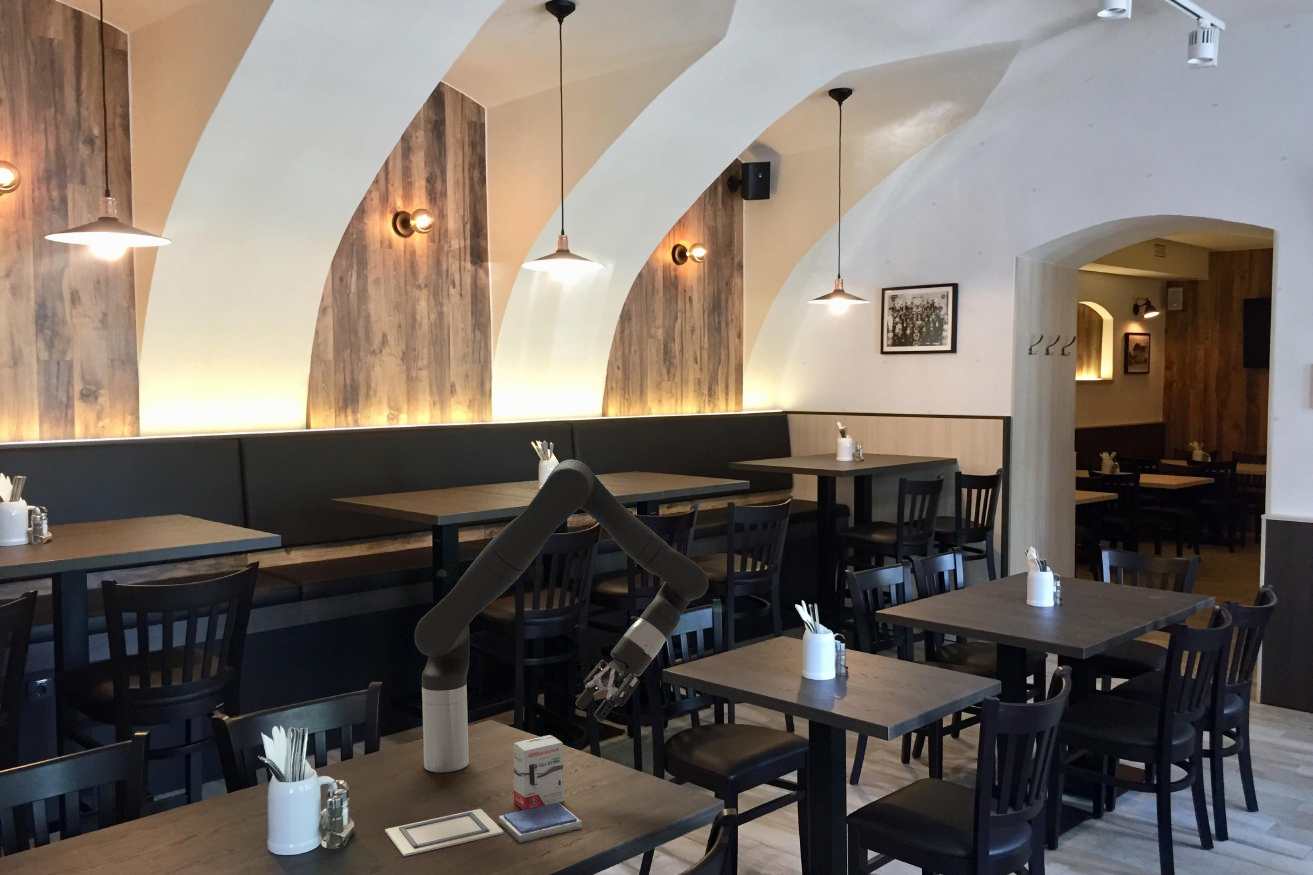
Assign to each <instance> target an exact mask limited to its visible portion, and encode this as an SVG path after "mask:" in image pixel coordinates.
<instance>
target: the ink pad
mask: <svg viewBox="0 0 1313 875" xmlns="http://www.w3.org/2000/svg"><path fill="white" fill-rule="evenodd" d="M498 823H499V825H501V826H502V827H503V828H504V830H506V831H507V832H508V833H509V834H510V835H511V836H512V837H513V838H514V839H515V840H516V841H517V842H518V843H523V842H527V841H532V840H537V839H540V838H544V837H550V836H553V835H558V834H561V833H567V832H570V831H574V830H579V829H582V828H583V826H582V825H583V824H582V820H581V819H579V817H577V816H576V815H575V814H573V813H572V812H571V811H570V810H569V809H567V807H565V806H564V805H563V804H561V802H559V803H554V804H549V805H545V806H540V807H536V808H531V809H526V810H523V809H522V810H519V811H514V812H509V813H506V814H503V815H498Z"/></svg>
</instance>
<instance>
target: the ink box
mask: <svg viewBox="0 0 1313 875" xmlns="http://www.w3.org/2000/svg"><path fill="white" fill-rule="evenodd" d="M564 786H565V785H564V743H563V742H562V741H561V740H560V739H558V738H557V737H555V736H553V735H551V734H548V735H543V736H540V737H535V738H530V739H526V740H519V741H517V742H515V743H513V803H514V805H516V806H518V808H520V809H522V810H526V809H531V808H536V807H540V806H545V805H549V804H554V803H563V802H564V800H565V796H564V795H565V793H564V788H565V787H564Z"/></svg>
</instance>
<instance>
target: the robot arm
mask: <svg viewBox="0 0 1313 875" xmlns="http://www.w3.org/2000/svg"><path fill="white" fill-rule="evenodd" d="M579 509H580V510H583V511H584V512H585V513H587V514H588V515H589V516H590V517H592V518H593V519H594V520H595V521H596V522H597V523H598V524H600V525H601V526H602V528H603V529H605V531H606V532H607V534H608V535H609V536H610V537H611V539H612V540H613V541H614V542H615V543H616V544H617V546H618V547H619V548H620V549H621V550H622V551H623V552H624V553H625V554H626V555H627V556H628V557H629V558H630V559H632V560H633V561H634V562H635V563H637V565H639V566H640V568H641V567H642V568H643V569H644V570H645V571H646V572H648V573H649V574H652V575H655V576H658V577H659V578H660V579H662V580H663V581H664V582H663V583H662V585H661V586H660V588H659V590H658V592H657V593H656V595H655V597H654V598H653V600H652V602H651V603H649V604H648V606H647V607H646V608H645V609H644V610H643V612H642V614H641V615H640V616H639V617H638V618H637V620H636V621H635V622H633V624H632V625H631V626H630V627H629V628H628V629H627V630H626V632H625V633H624V635H623V636H622V637H621V638H620V639H619V641H618V642H617V643H616V644H615V646H614V647H613V649H611V652H610V657H612V659H611V661H610V662H609V663H608V662H607V661H605V660H604V659H601V660H600V661H599V662H598V663H597V664H596V665H595V667H593V669H592V670H591V671H590V672H589V674H588V675H587V676H586V678H585V679H584V680H583V684H585V686H584V687H585V689H584V690H583V691H582V693H581V694H580V695H579V697H578V698H577V699H576V701H575V703H574V704H575V705H576V706H577V707H578V708H579V709H580V710H583V711H584V710H585V709H586V708H587V706H588V705H589V704H590V702H591V701H592V700H593V698H594V697H595V695H596V694H599V692H601V691H603V692H604V691H606V690H607V693H606V699H605V698H604V699H603V701H602V702H601V703H600V705H599V706H598V707H597V708H596V710H595V711H594V712H593V717H595V718H596V719H597V720H598V721H599V722H603V721H604V720H605V719H606V717H607V716H608V715H609V713H610V712H611V711H612V710H613V709H614V707H618V706H620V707H623V706H624V705H625V704H626V703H627V702H628V701H629V699H630V698H631V697H632V694H633V693H634V691H635V690H636V689H637V688H638V686H639V684H640V682H641V681H640V680H639V679H638V678H637V677H640V676H641V675H642V674H643V673H644V672H645V671H646V669H647V668H648V666H649V665H650V664H651V662H652V661H653V660H654V658H656V656H657V655H658V653H660V650H662V648H663V645H665V642H666V641H667V640H668V638H669V637H670V636H671V635H672V633H673V631H674V630H675V629H676V628H677V626H678V624H679V622H680V620H681V615H682V614H683V612H685V609H687V607H688V606H689V604H690V603H691V602H692V601H695V600H698V599H700V598H702V597H703V596H705V594H706V593H707V592H708V589H709V584H710V583H709V579H708V575H707V573H706V572H705V570H704V569H703V568H702V567H700V565H699V564H697V563H696V562H695V561H693V560H691V559H690V558H688V557H687V556H685V555H684V554H682V553H681V552H680V551H677V550H675V549H674V548H673V547H672V546H670V545H669V544H668V543H667V542H666V541H665V540H664V539H663V538H662V537H661V536H660V535H658V534H657V533H655V532H654V530H653V529H651V528H650V527H649V526H647V525H646V523H643V522H642V521H641V520H640V519H639V518H638V517H636V516H635V515H634V514H633V513H632V512H631V511H630V510H629V509H628V508H626V507H625V506H624V505H623V504H622V503H621V502H620V501H619V500H618V499H617V498H616V496H614V495H613V494H612V493H611V492H610V491H609V490H608V489H607V487H606V486H605V485H604V484H603V482H602V481H601V480H600V479H599V478H598V477H597V476H596V475H595V473H594V472H593V471H592V470H591V469H590V467H589V466H588V465H587V464H585V463H584V462H582V461H580V460H577V459H566V460H563V461H561V462H559V463H558V464H557V465H556V466H554V468H553V469H552V470H551V472H550V473H549V475H548V476H547V478H546V479H545V481H544V483H543V485H542V486H541V488H539V491H538V492H537V494H536V495H535V496H534V498H533V499H532V501H530V503H529V504H528V506H527V507H526V508H525V509H524V510H523V511H522V512H521V513H520V514H519V515H518V516H517V517H515V518H514V519H513V520H512V521H510V522H509V523H508V524H506V526H504V527H503V528H502V529H501V530H500V531H499V532H498V533H497V534H496V535H495V536H494V537H493V538H492V539H491V540H490V542H488V544H487V545H486V546H485V547H484V548H483V550H482V551H481V552H480V553H479V554H478V556H476V558H475V559H474V561H473V562H472V563H471V564H470V565H469V567H467V569H466V570H465V572H464V573H463V574H462V576H461V577H460V578H459V580H458V581H457V582H456V584H455V586H454V587H453V588H452V589H451V590H450V591H449V592H448V593H447V595H446V596H445V597H444V598H442V599H441V600H440V601H439V602H438V603H437V604H435V606H434V607H432V608H431V610H429V611H428V612H427V613H426V614H425V615H424V616H423V617H421V619H419V620H418V623H417V625H416V627H415V629H414V643H415V646H416V648H417V650H418V651H419V652H420V653H421V654H422V655H425V656H427V661H426V665H425V667H424V669H423V671H422V674H421V694H422V695H421V697H422V698H421V699H422V730H423V731H422V733H423V767H424V769H425V770H426V771H429V772H431V773H432V772H433V773H450V772H455V771H456V772H457V771H459V770H462V769H465V768H466V767H467V766H469V763H470V762H469V761H470V760H469V730H468V729H469V728H468V726H469V725H468V722H469V721H468V695H467V694H468V693H467V678H468V677H467V676H468V671H469V668H470V658H471V657H470V656H471V655H470V650H471V649H470V647H471V645H470V644H471V643H470V642H471V640H470V639H471V638H470V637H471V636H470V635H471V634H470V633H471V632H470V626H469V625H470V623H471V622H472V621H473V620H474V618H475V617H476V616H477V615H478V614H479V613H481V612H482V611H483V610H484V609H485V608H486V607H488V606H489V605H490V604H492V603H494V601H495V600H497V599H498V598H499V597H500V596H502V594H503V593H504V592H506V591H507V590H508V589H509V588H510V587H511V586H512V585H513V584H514V583H515V582H516V581H517V580H518V579H519V578H520V577H521V575H523V573H524V572H525V571H526V570H527V569H528V568H529V566H531V564H532V563H533V561H534V560H535V558H536V557H537V556H538V554H539V553H540V552H541V551H542V548H543V547H544V545H545V544H546V542H547V541H548V539H549V538H550V537H551V536H552V535H553V534H554V532H556V530H557V529H558V528H559V527H561V525H562V524H564V522H566V521H567V520H568V519H569V518H570V517H571V516H572V515H573V514H575V513H576V512H577V511H578V510H579Z"/></svg>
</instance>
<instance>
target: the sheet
mask: <svg viewBox="0 0 1313 875" xmlns="http://www.w3.org/2000/svg"><path fill="white" fill-rule="evenodd" d="M384 832H385V834H386V835H387V837H388V838H389V839H390V840H391V841H392V843H393V845H395V847H396V848H397V849H398V851H399V852H400V854H401V855H402V857H408V856H411V855H416V854H420V853H425V852H429V851H433V850H438V849H442V848H446V847H451V846H456V845H460V844H464V843H468V842H472V841H477V840H482V839H485V838H486V839H487V838H491V837H495V836H499V835H502V834H503V835H504V834H505V833H504V830H503V829H502V828H501V827H500V826H499V825H498V824H497V823H496V822H495V821H494V820H493V819H492V818H490V816H489V815H488V814H487V813H486V812H485V811H484V810H483V809H482V808H477V809H473V810H468V811H464V812H459V813H455V814H449V815H445V816H441V817H435V818H431V819H426V820H423V821H417V822H413V823H407V824H403V825H399V826H393V827H389V828H385V829H384Z"/></svg>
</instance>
